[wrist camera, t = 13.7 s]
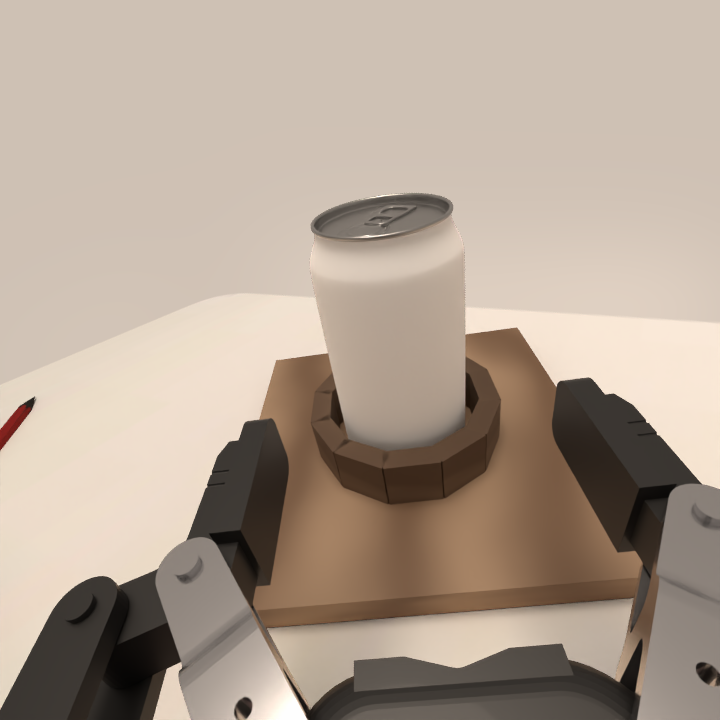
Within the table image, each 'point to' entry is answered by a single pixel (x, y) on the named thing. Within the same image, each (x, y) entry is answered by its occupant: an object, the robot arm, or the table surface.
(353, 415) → the can
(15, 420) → the pencil
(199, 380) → the table surface
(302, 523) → the socket board
